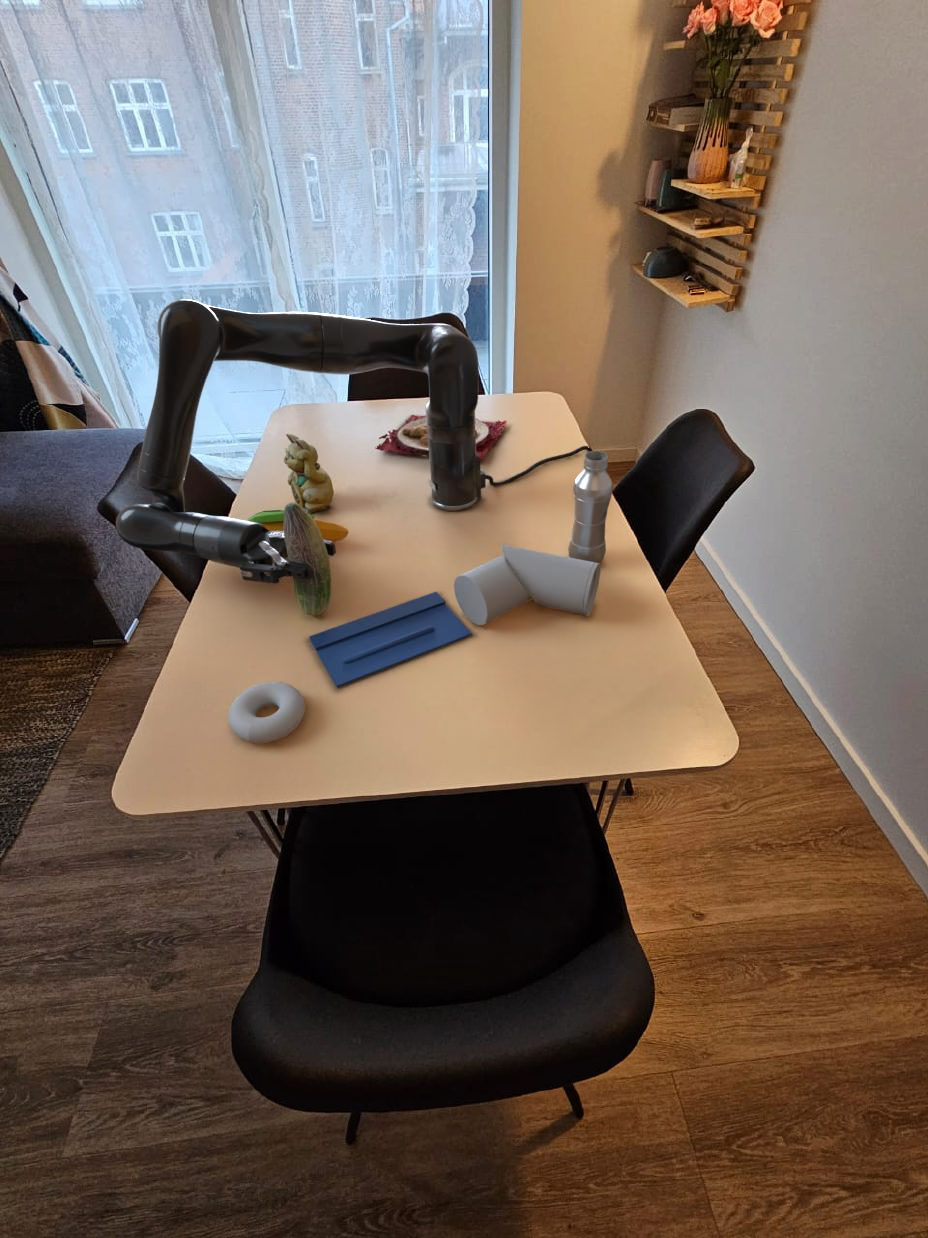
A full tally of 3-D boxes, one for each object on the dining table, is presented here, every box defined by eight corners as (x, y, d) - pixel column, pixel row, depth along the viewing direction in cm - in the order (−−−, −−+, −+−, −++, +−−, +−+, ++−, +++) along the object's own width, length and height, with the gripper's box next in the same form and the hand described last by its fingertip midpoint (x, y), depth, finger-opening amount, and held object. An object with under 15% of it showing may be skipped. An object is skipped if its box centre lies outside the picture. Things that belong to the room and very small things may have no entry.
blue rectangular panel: (436, 595, 108) (436, 590, 107) (471, 635, 100) (471, 630, 99) (310, 640, 100) (308, 635, 100) (337, 688, 92) (335, 682, 91)
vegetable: (318, 596, 109) (295, 489, 96) (347, 607, 107) (327, 498, 94) (293, 616, 105) (266, 507, 93) (323, 628, 103) (299, 517, 90)
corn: (243, 501, 120) (349, 501, 118) (254, 534, 125) (356, 535, 124) (230, 524, 114) (341, 524, 113) (242, 558, 120) (348, 559, 118)
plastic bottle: (607, 554, 116) (620, 449, 103) (600, 575, 111) (613, 467, 98) (571, 548, 118) (580, 444, 105) (563, 569, 113) (571, 462, 100)
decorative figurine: (287, 503, 135) (270, 433, 125) (321, 489, 139) (308, 421, 129) (310, 520, 129) (295, 449, 120) (345, 505, 133) (334, 435, 124)
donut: (310, 691, 92) (239, 696, 91) (306, 673, 90) (233, 678, 89) (303, 746, 84) (224, 752, 84) (298, 728, 82) (217, 734, 81)
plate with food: (481, 467, 145) (481, 452, 143) (375, 453, 151) (373, 439, 149) (507, 426, 162) (508, 413, 160) (411, 415, 169) (411, 402, 166)
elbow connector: (538, 552, 115) (447, 596, 106) (550, 505, 107) (452, 549, 98) (608, 616, 106) (516, 670, 97) (627, 571, 98) (528, 625, 89)
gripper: (195, 545, 96) (292, 566, 91) (253, 500, 106) (342, 516, 101) (209, 586, 101) (302, 608, 96) (263, 539, 111) (349, 556, 106)
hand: (322, 560), depth 99 cm, fingers closed on vegetable, 6 cm apart
